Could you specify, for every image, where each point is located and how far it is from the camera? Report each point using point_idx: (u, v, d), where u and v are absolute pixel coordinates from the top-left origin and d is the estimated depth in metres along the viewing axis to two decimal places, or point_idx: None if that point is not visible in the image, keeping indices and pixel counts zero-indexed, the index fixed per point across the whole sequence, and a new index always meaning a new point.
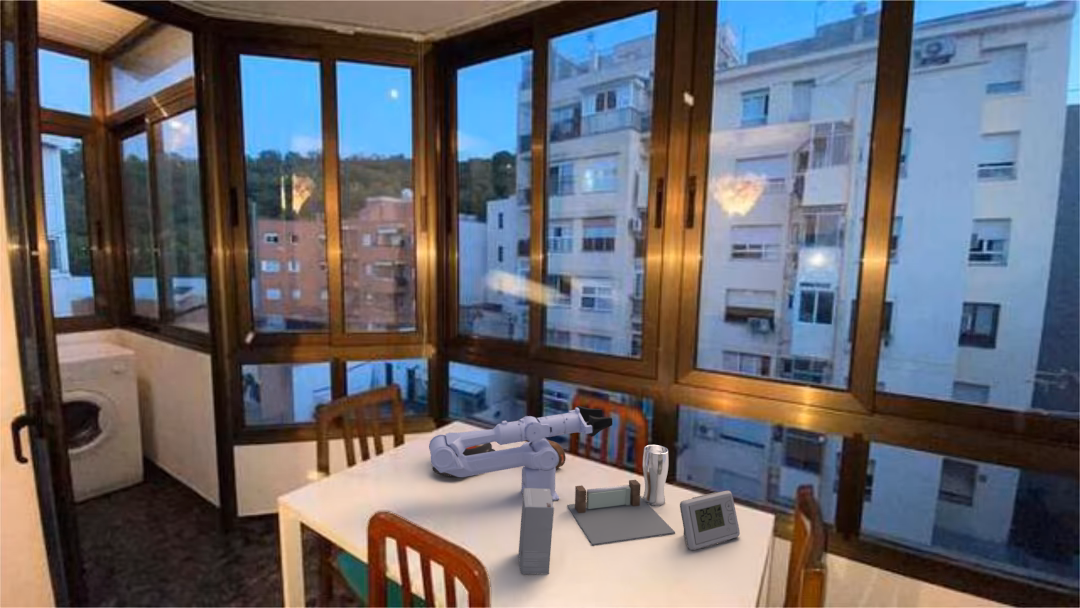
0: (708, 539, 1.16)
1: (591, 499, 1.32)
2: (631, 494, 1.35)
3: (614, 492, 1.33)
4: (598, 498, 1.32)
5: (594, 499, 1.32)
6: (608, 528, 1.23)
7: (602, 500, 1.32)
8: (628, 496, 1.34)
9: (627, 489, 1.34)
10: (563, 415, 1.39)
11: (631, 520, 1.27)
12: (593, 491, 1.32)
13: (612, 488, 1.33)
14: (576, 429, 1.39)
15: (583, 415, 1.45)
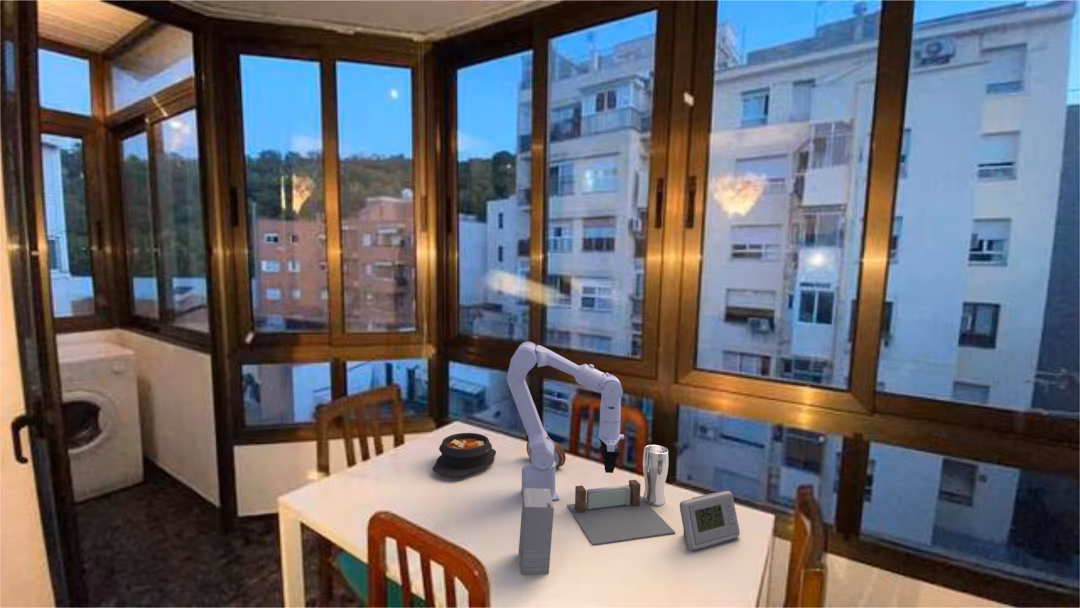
0: (708, 539, 1.16)
1: (591, 499, 1.32)
2: (631, 494, 1.35)
3: (614, 492, 1.33)
4: (598, 498, 1.32)
5: (594, 499, 1.32)
6: (608, 528, 1.23)
7: (602, 500, 1.32)
8: (628, 496, 1.34)
9: (627, 489, 1.34)
10: None
11: (631, 520, 1.27)
12: (593, 491, 1.32)
13: (612, 488, 1.33)
14: (605, 434, 1.35)
15: None
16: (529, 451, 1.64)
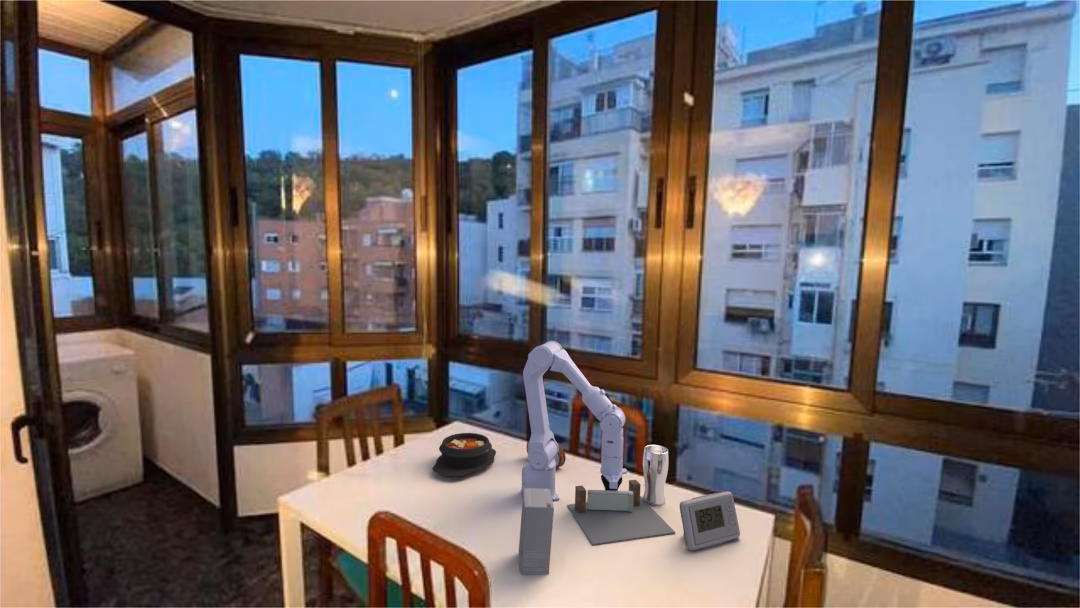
0: (708, 540, 1.16)
1: (591, 500, 1.31)
2: None
3: (616, 496, 1.31)
4: (598, 500, 1.31)
5: (594, 501, 1.31)
6: (608, 528, 1.23)
7: (602, 502, 1.31)
8: (631, 502, 1.31)
9: (630, 495, 1.31)
10: (622, 456, 1.31)
11: (631, 520, 1.27)
12: (593, 492, 1.31)
13: (614, 492, 1.31)
14: (607, 469, 1.30)
15: None
16: None
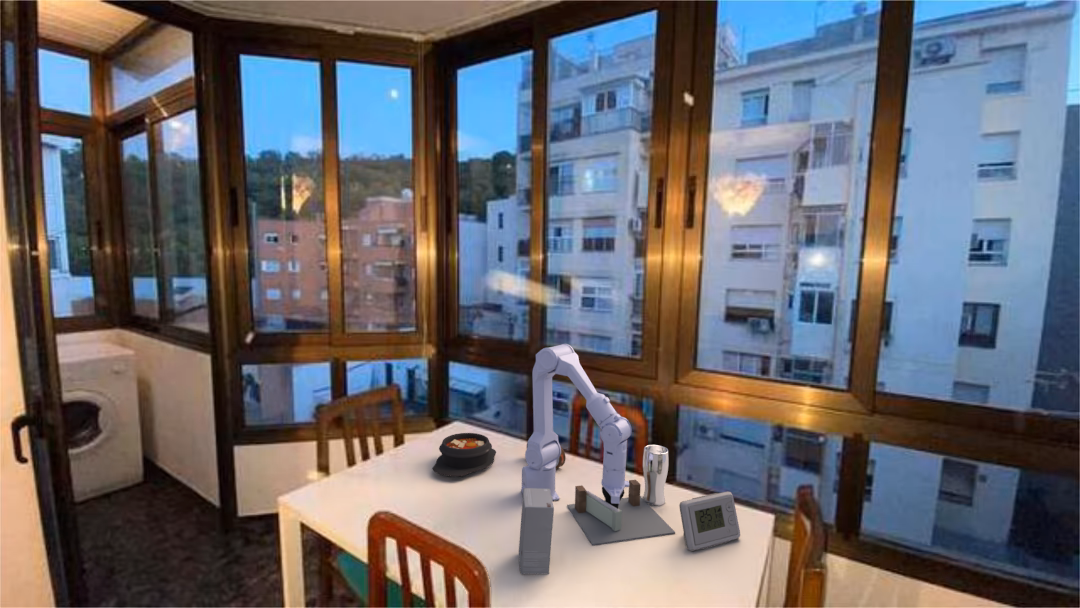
0: (708, 540, 1.16)
1: (587, 501, 1.30)
2: (631, 494, 1.35)
3: (603, 507, 1.25)
4: (591, 504, 1.29)
5: (589, 503, 1.30)
6: (608, 528, 1.23)
7: (594, 509, 1.28)
8: (614, 520, 1.22)
9: (613, 512, 1.22)
10: (625, 468, 1.25)
11: (631, 520, 1.27)
12: (589, 495, 1.30)
13: (603, 502, 1.25)
14: (609, 482, 1.23)
15: None
16: None
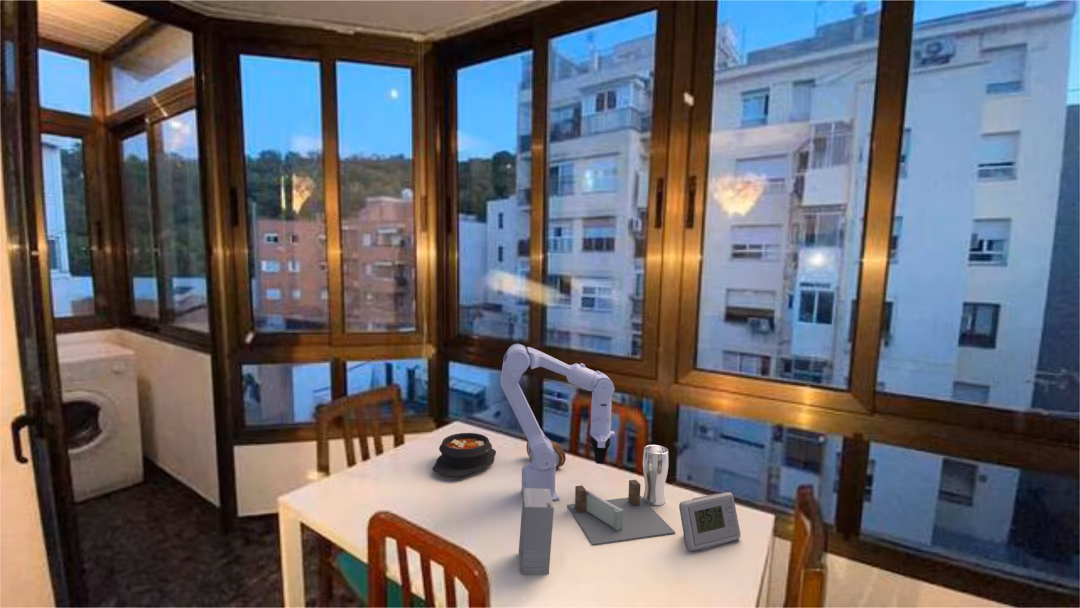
0: (707, 540, 1.16)
1: (587, 501, 1.30)
2: (631, 494, 1.35)
3: (604, 507, 1.25)
4: (592, 504, 1.29)
5: (589, 503, 1.30)
6: (608, 528, 1.23)
7: (595, 508, 1.28)
8: (615, 520, 1.22)
9: (614, 511, 1.22)
10: (610, 418, 1.39)
11: (631, 520, 1.27)
12: (589, 494, 1.30)
13: (604, 502, 1.26)
14: (596, 431, 1.38)
15: None
16: (529, 451, 1.64)
